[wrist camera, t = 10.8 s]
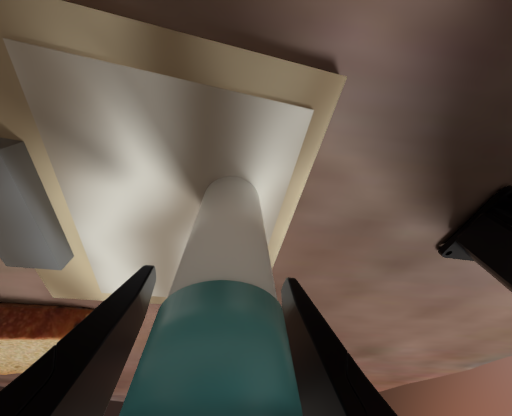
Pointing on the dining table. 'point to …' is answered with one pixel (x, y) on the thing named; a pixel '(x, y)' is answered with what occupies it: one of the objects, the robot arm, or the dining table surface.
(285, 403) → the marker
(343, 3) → the dining table surface
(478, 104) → the dining table surface
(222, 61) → the clipboard
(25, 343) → the bread slice
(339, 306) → the dining table surface
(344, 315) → the dining table surface
